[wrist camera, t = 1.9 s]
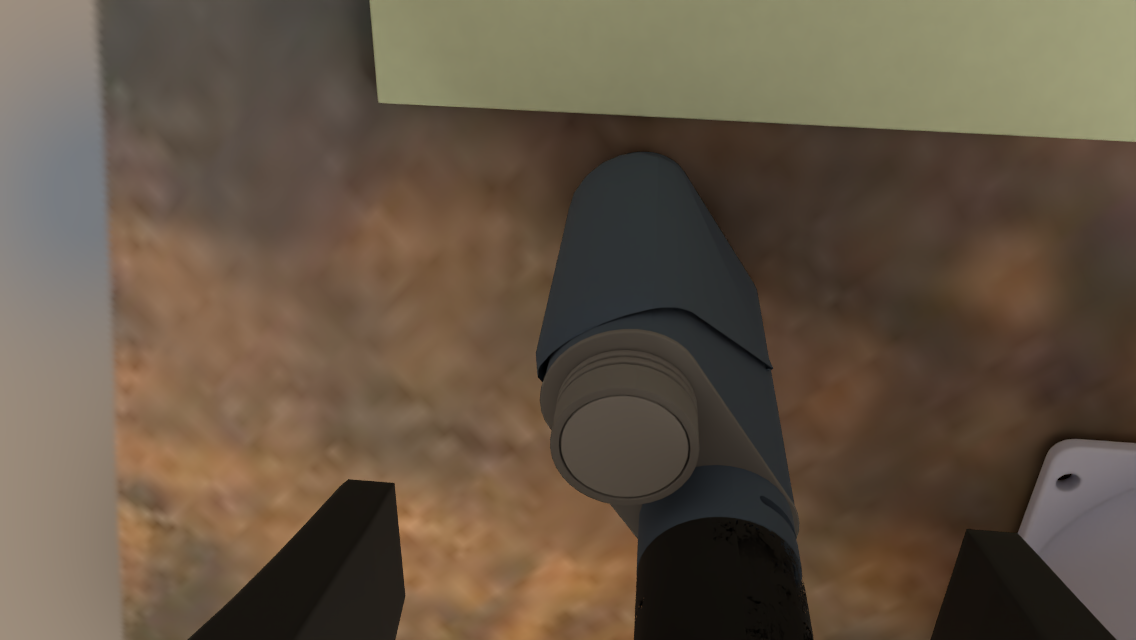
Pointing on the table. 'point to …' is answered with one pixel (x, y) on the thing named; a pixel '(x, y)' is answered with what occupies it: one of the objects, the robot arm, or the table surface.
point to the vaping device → (672, 406)
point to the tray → (775, 61)
